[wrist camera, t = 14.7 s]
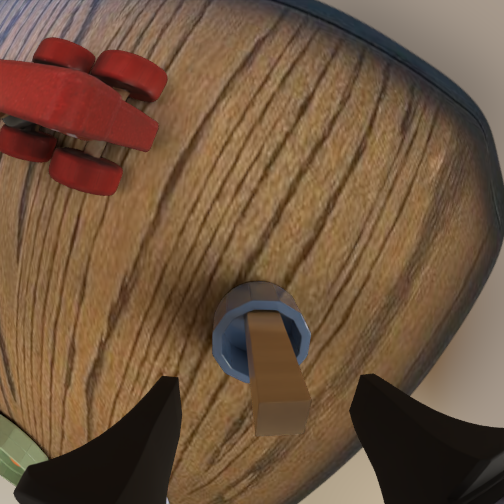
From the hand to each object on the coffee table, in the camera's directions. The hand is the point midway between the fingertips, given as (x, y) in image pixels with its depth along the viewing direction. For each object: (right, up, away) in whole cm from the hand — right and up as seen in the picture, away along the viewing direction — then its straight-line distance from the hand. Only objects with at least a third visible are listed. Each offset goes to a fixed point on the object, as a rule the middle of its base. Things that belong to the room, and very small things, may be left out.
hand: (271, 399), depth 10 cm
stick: (0, +3, +6) cm, 7 cm away
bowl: (-30, -18, +9) cm, 36 cm away
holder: (0, +2, +7) cm, 7 cm away
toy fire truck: (-11, +14, +4) cm, 18 cm away
